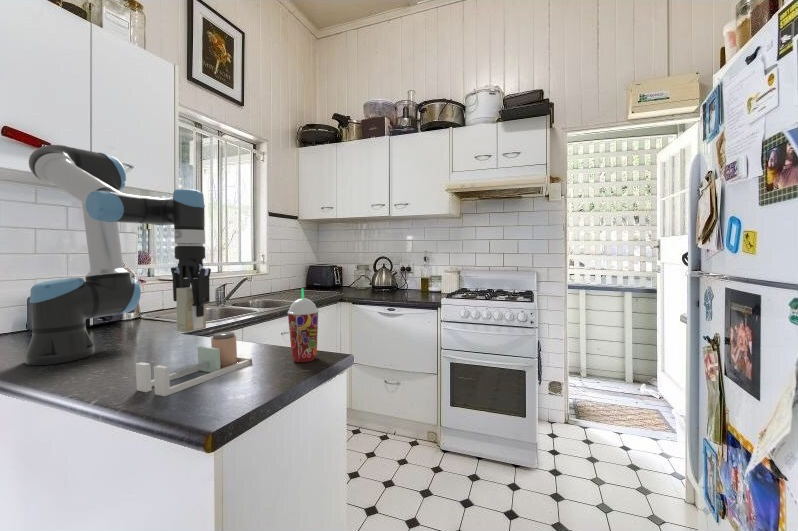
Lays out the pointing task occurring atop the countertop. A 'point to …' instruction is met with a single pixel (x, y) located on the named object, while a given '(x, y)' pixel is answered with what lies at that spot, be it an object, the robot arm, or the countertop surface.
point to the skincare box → (186, 310)
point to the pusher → (204, 361)
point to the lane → (164, 377)
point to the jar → (225, 348)
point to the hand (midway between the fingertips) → (191, 327)
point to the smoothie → (303, 329)
